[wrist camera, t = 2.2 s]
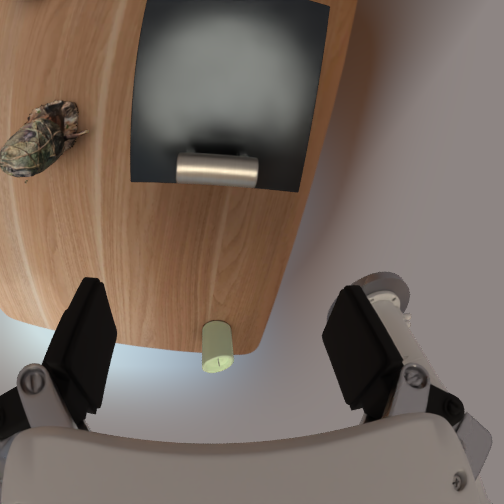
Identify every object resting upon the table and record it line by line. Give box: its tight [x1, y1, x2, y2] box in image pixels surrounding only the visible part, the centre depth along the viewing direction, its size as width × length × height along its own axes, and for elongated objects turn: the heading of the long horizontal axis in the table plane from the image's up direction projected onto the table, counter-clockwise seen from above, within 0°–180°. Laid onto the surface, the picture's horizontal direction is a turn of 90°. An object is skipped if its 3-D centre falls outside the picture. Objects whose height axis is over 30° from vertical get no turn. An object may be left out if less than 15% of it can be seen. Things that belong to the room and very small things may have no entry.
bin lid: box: [130, 0, 330, 192], centre depth 15 cm, size 16×14×5 cm
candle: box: [202, 321, 234, 373], centre depth 43 cm, size 5×5×8 cm
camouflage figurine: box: [0, 100, 89, 183], centre depth 17 cm, size 8×11×20 cm
